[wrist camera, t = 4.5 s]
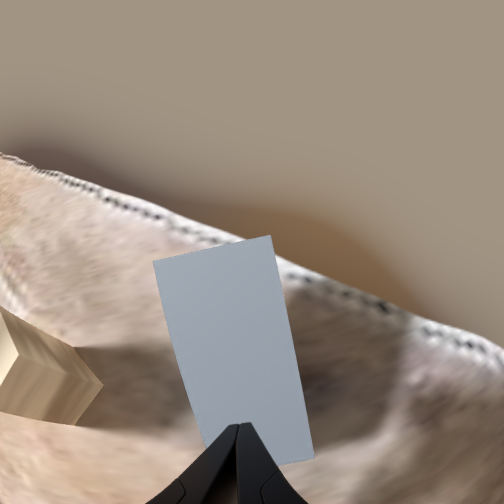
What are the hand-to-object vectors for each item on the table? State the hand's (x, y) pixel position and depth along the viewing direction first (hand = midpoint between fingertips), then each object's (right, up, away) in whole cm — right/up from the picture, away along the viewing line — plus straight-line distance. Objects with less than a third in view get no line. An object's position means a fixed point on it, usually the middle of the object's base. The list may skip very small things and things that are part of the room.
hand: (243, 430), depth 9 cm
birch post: (-15, -5, +10) cm, 18 cm away
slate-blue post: (+1, -4, +5) cm, 7 cm away
